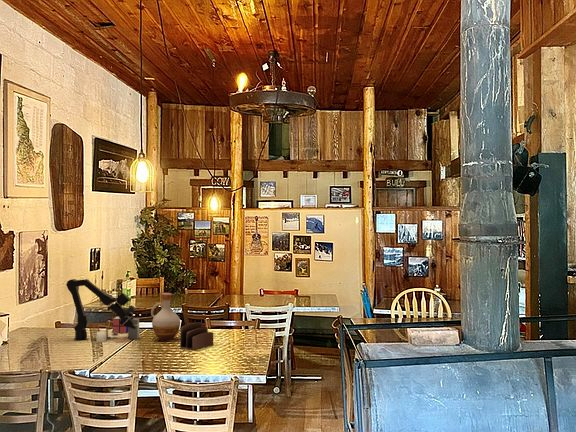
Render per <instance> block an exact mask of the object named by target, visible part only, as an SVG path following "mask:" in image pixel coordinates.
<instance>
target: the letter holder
mask: <svg viewBox="0 0 576 432" xmlns="http://www.w3.org/2000/svg"><path fill="white" fill-rule="evenodd" d="M208 329H209V328H208V327H203V322H199V321H198V322H191V323H187V324H185V325H183V326H180V333H179V334H180V342H179V345H180V347H179V349H180V350H185V349H187V351H192V350H193V351H195V350H200V349H202V348H207V347H211V346H213V345H214V332H212V331H208Z"/></svg>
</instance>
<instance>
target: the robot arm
mask: <svg viewBox="0 0 576 432" xmlns="http://www.w3.org/2000/svg"><path fill="white" fill-rule="evenodd" d="M65 285H66V287H67V289H68V291H69V292H70V294H71V296H72V300H73V304H74V307H75V311H76V314H77V319H76V320H77V321H76V322H77V324H76V326H74V328H73V329H74V340H75V341H85V340H87V339H88V331H87V327H88V326H89V325H90V322H91V319H90V315H89V314H86V312H85V309H84V307H83V302H82V299H81V296H80V291H79V290H80V287H82V286H84V287H86V288H87V289H88V290H89V291H91V293H92V294H94V295H95V296H96V297H98V299H99V300H100V302H101V303H102V304H103V305H105V306H107V312H109V311H110V310H111V311H112V312H113V314H115V317H119V318H120V319H121V320H120V324H121V325H123V324H124V323H125V324H124V326H127V327H130V328H133V329H135V326H134V325H133V324H132V322H131V318H134V315H135V314H134V313H133V312H135V311H136V308H135V306H134V305H131V304H130V305H129V306H128V307H127V308H124V306H125V305H127V303H128V302H130V300H131V298H130V296H129V295H127V294H126V293H124V292H122V293H120V295H119V296H118V297H114V296H112V295H110V294H109V293H106V292H104V291H103V290H102V289H100V288H99V287H98V286H97V285H95V284H94V283H93V282H92V281H91V280H90V279H88V278H84V279H75V278H72V279H69V280H68V281H66V283H65ZM109 305H110V306H109ZM122 306H123V307H122Z"/></svg>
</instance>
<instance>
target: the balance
mask: <svg viewBox="0 0 576 432" xmlns="http://www.w3.org/2000/svg"><path fill="white" fill-rule="evenodd" d="M97 326H98V329H97V331H95V334H97V332H98V331H100V327H105V331H106V332H107V337H106V340H111V338H112V337H115V336H116V337H117V336H119V333H117V332H114V333H112V334H111V336H112V337H111V336H109V328H110V329H112V328H115V327H112V326H109V325H103V324H98V325H97Z"/></svg>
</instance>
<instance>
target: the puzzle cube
mask: <svg viewBox="0 0 576 432" xmlns="http://www.w3.org/2000/svg"><path fill="white" fill-rule="evenodd" d="M120 320H121V319H120V318H119V317H118V316H115V317H113V318H112V324H111V325H112V326H111V327H115V328H111V329H112V330H111V331H112V334H114V332H117V334H128V327H127V326H124V324H125V323H124V324H123V325H121V324H120Z"/></svg>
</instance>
